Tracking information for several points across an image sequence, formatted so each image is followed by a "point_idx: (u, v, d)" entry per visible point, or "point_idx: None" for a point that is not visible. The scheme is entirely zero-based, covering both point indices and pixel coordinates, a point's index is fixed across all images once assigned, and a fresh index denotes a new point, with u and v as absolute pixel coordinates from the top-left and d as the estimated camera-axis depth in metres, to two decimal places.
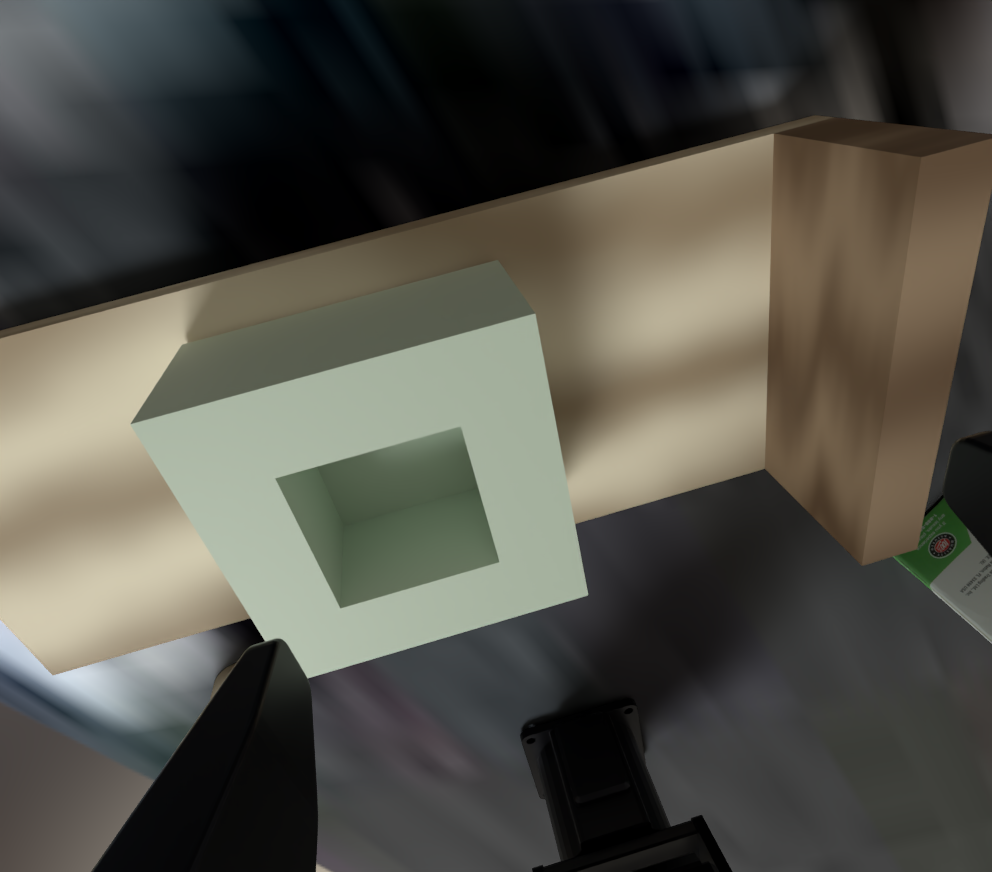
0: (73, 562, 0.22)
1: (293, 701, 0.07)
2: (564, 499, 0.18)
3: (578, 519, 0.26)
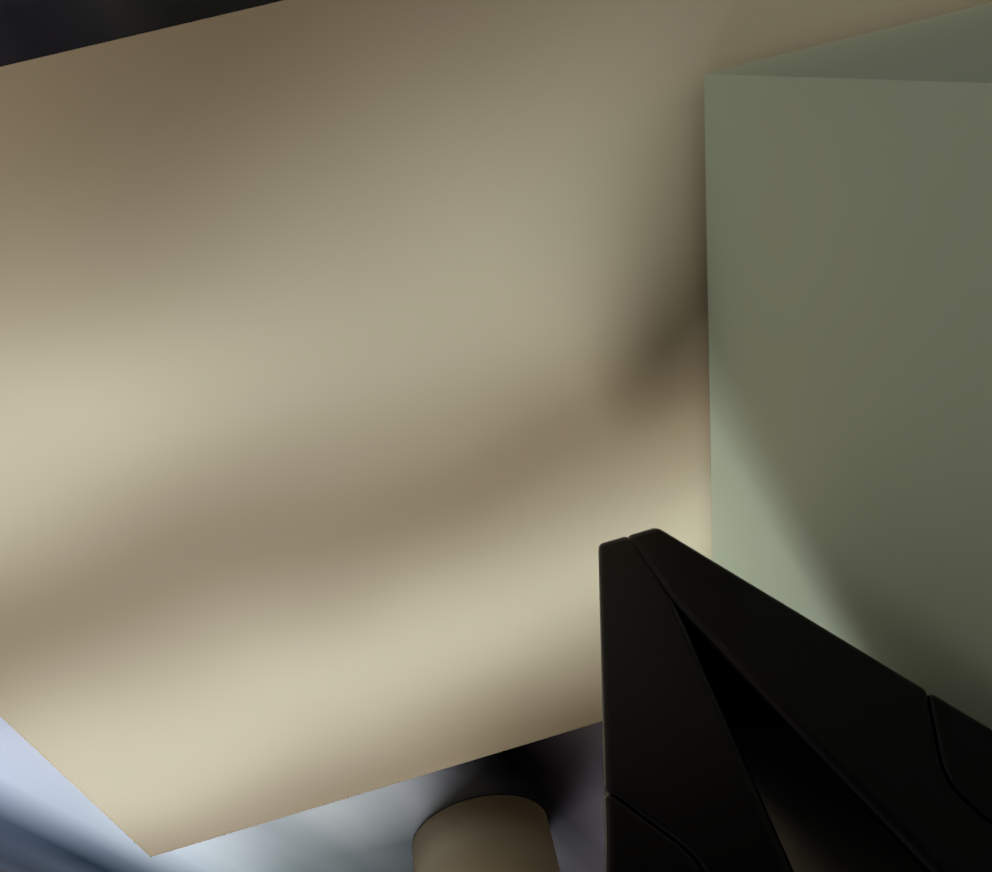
0: (222, 655, 0.10)
1: None
2: None
3: None
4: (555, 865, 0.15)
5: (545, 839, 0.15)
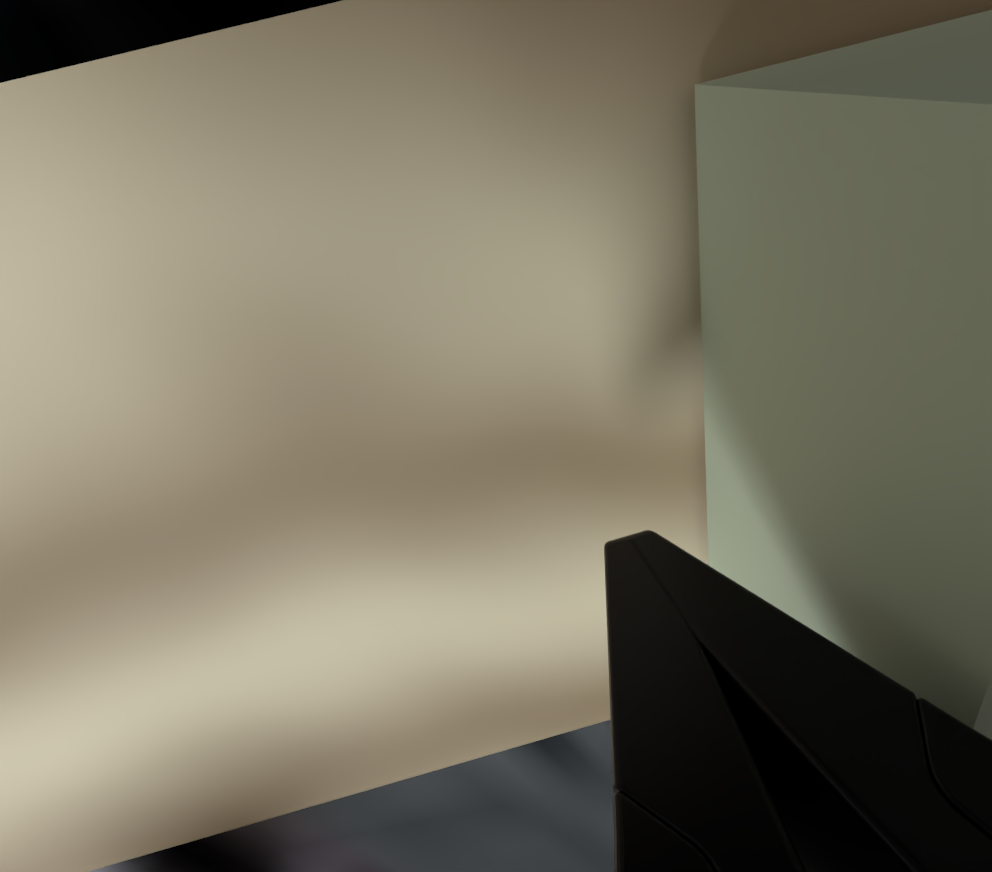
0: None
1: None
2: None
3: None
4: None
5: None
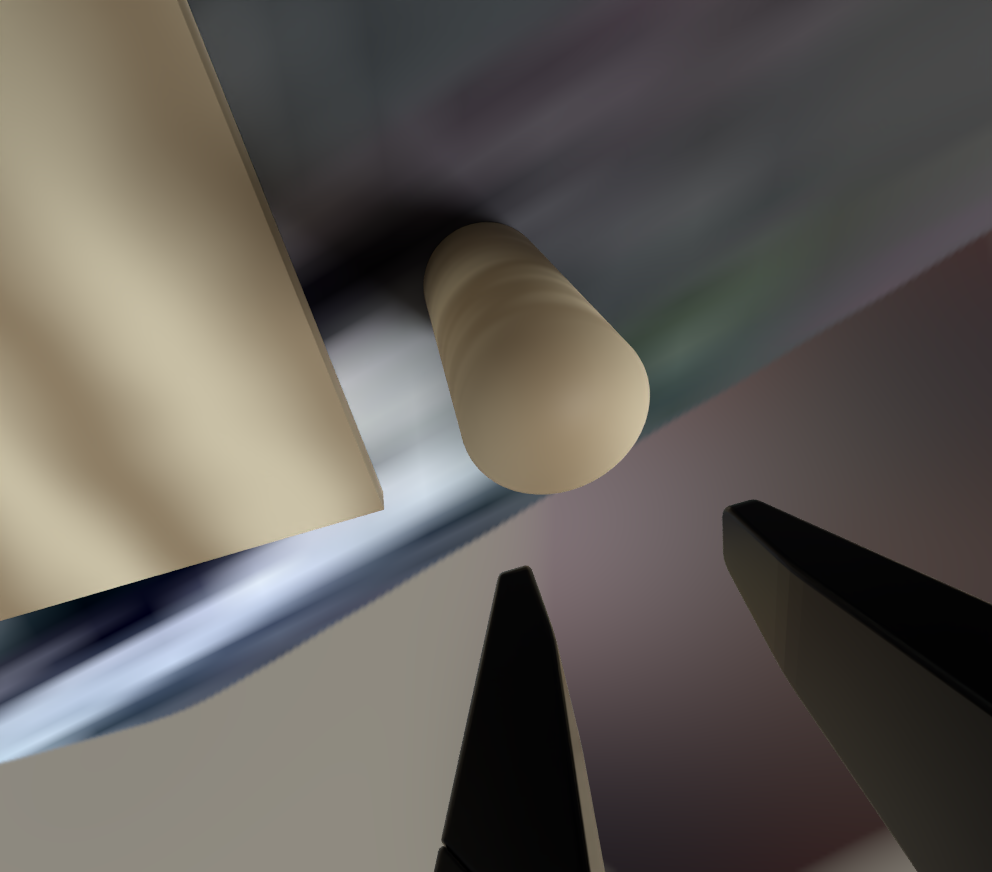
0: (186, 462, 0.18)
1: None
2: None
3: None
4: (462, 242, 0.16)
5: (452, 242, 0.17)
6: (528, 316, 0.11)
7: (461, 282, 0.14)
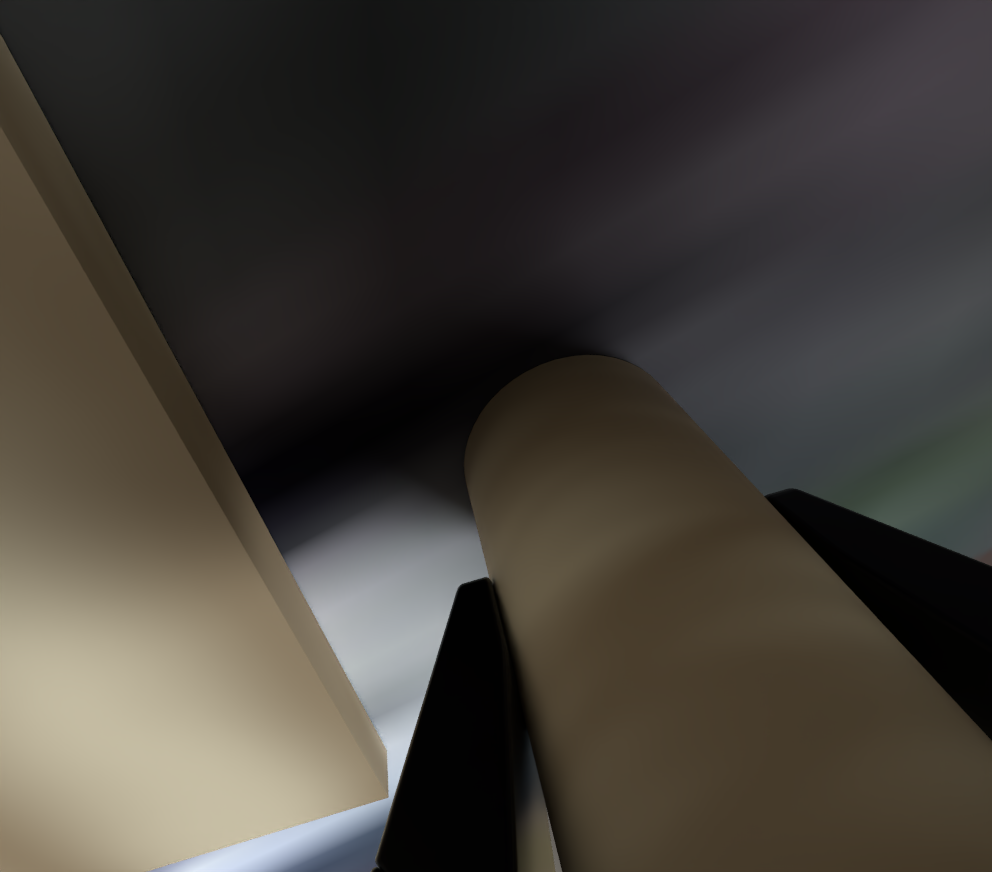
0: (35, 771, 0.10)
1: None
2: None
3: None
4: (551, 415, 0.08)
5: (527, 406, 0.09)
6: None
7: (580, 570, 0.06)
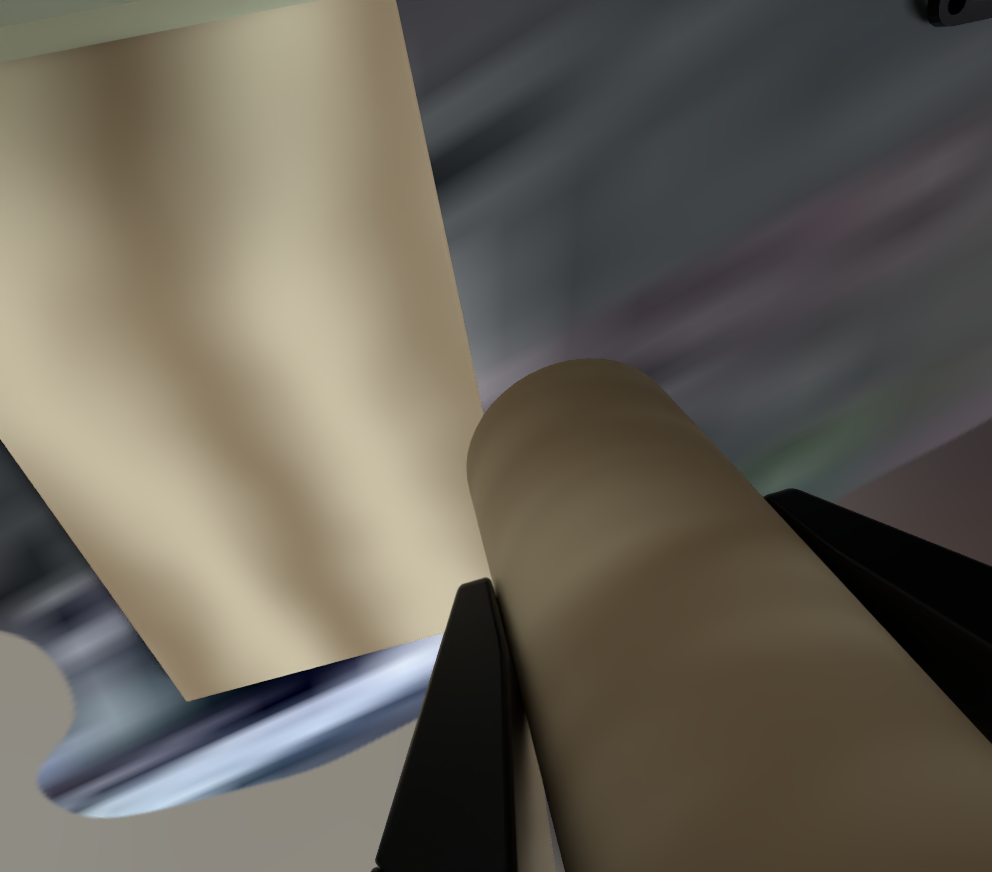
0: (376, 576, 0.22)
1: None
2: None
3: None
4: (553, 419, 0.08)
5: (529, 409, 0.09)
6: None
7: (583, 574, 0.06)
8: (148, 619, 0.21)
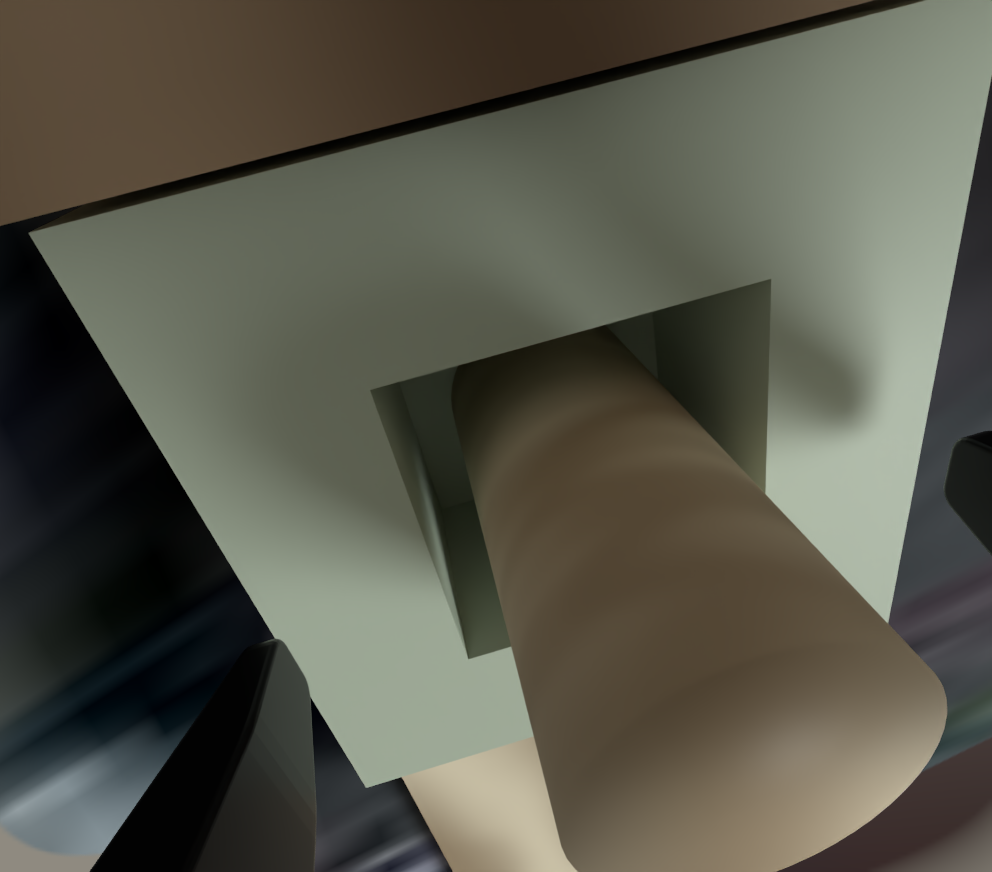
0: None
1: (292, 701, 0.07)
2: (620, 99, 0.06)
3: None
4: None
5: None
6: (716, 609, 0.05)
7: (529, 441, 0.08)
8: None
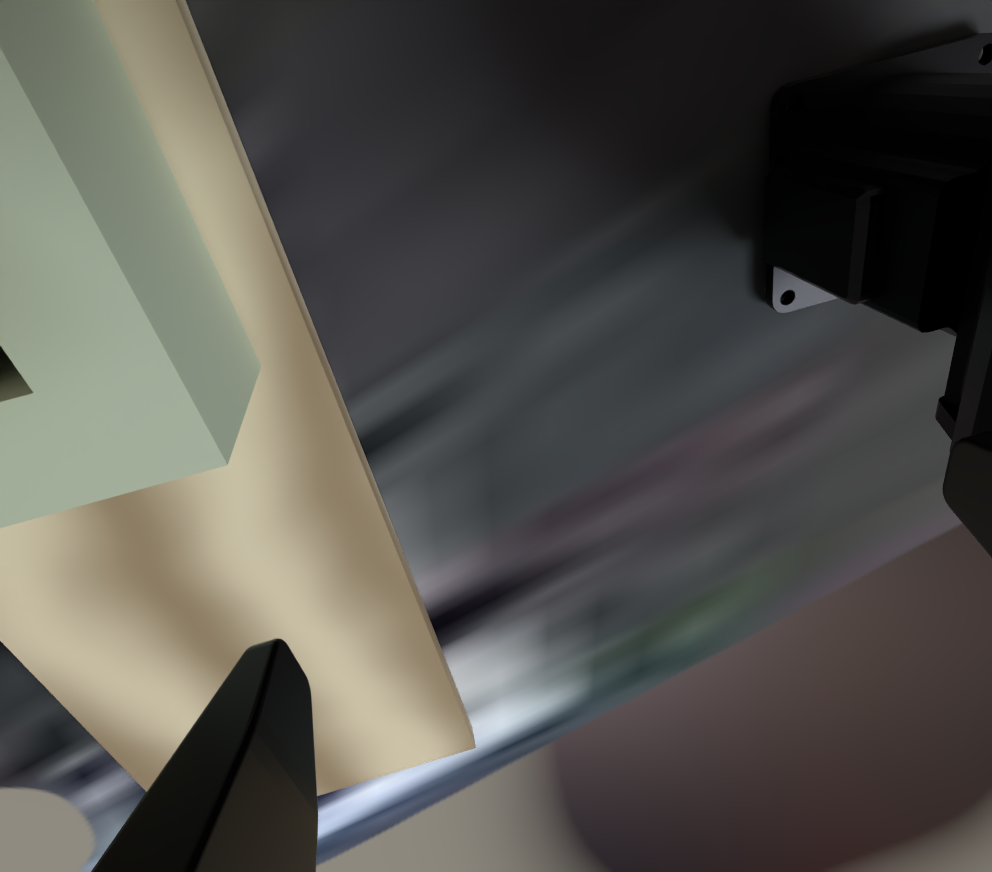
0: (342, 733, 0.26)
1: (293, 701, 0.07)
2: None
3: (281, 280, 0.16)
4: None
5: None
6: None
7: None
8: (152, 779, 0.25)
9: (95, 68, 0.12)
